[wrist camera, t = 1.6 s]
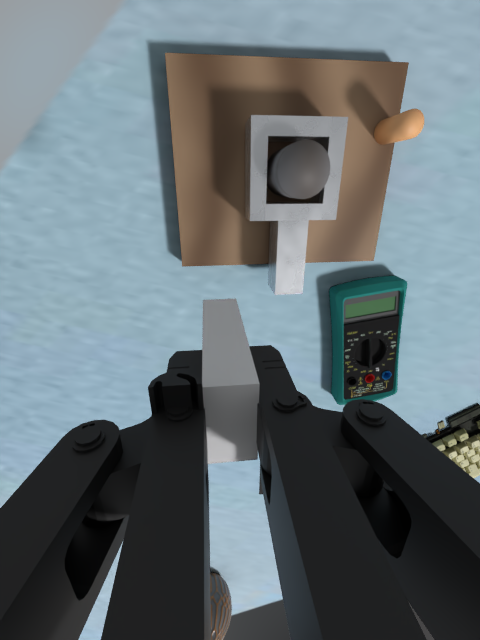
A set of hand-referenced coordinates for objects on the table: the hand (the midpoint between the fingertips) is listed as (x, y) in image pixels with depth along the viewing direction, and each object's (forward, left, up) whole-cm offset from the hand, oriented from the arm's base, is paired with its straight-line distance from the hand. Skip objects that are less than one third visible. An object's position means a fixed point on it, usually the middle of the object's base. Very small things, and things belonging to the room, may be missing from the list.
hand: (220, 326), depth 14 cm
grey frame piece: (+6, +4, -14) cm, 16 cm away
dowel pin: (+14, +10, -14) cm, 23 cm away
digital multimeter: (+16, -10, -16) cm, 25 cm away
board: (+6, +7, -16) cm, 18 cm away
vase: (-3, -53, -16) cm, 55 cm away
